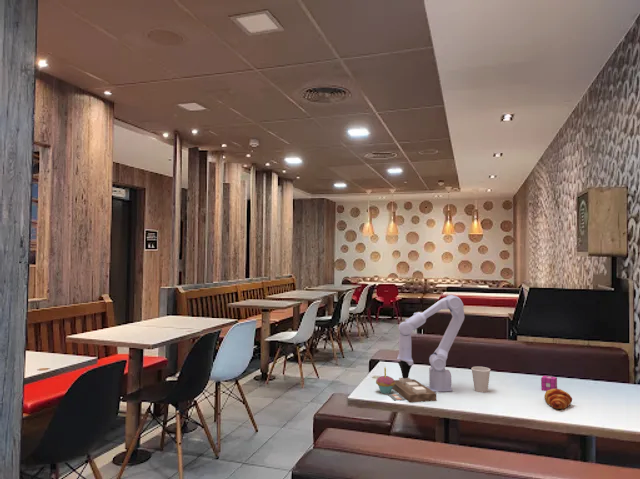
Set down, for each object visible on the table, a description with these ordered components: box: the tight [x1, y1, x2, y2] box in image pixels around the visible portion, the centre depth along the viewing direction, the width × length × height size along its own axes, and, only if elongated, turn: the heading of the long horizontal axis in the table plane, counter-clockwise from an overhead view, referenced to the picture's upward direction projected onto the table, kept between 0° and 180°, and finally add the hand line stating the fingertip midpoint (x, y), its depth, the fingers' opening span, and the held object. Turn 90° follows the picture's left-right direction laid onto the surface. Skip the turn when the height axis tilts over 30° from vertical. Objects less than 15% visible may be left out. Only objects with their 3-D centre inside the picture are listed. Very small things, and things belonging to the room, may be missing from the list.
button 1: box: [398, 377, 412, 384], centre depth 212 cm, size 4×4×3 cm
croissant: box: [543, 388, 573, 410], centre depth 190 cm, size 21×10×8 cm, turn 154°
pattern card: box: [387, 393, 407, 402], centre depth 197 cm, size 5×8×1 cm, turn 11°
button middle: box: [406, 382, 419, 388], centre depth 204 cm, size 4×4×3 cm
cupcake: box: [375, 367, 395, 395], centre depth 206 cm, size 9×8×12 cm
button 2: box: [412, 387, 426, 394], centre depth 196 cm, size 4×4×3 cm
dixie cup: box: [470, 366, 491, 393], centre depth 209 cm, size 8×8×10 cm
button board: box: [392, 378, 437, 403], centre depth 204 cm, size 12×24×3 cm, turn 11°
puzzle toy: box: [540, 375, 558, 392], centre depth 211 cm, size 6×6×6 cm
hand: (405, 377), depth 212 cm, fingers closed
